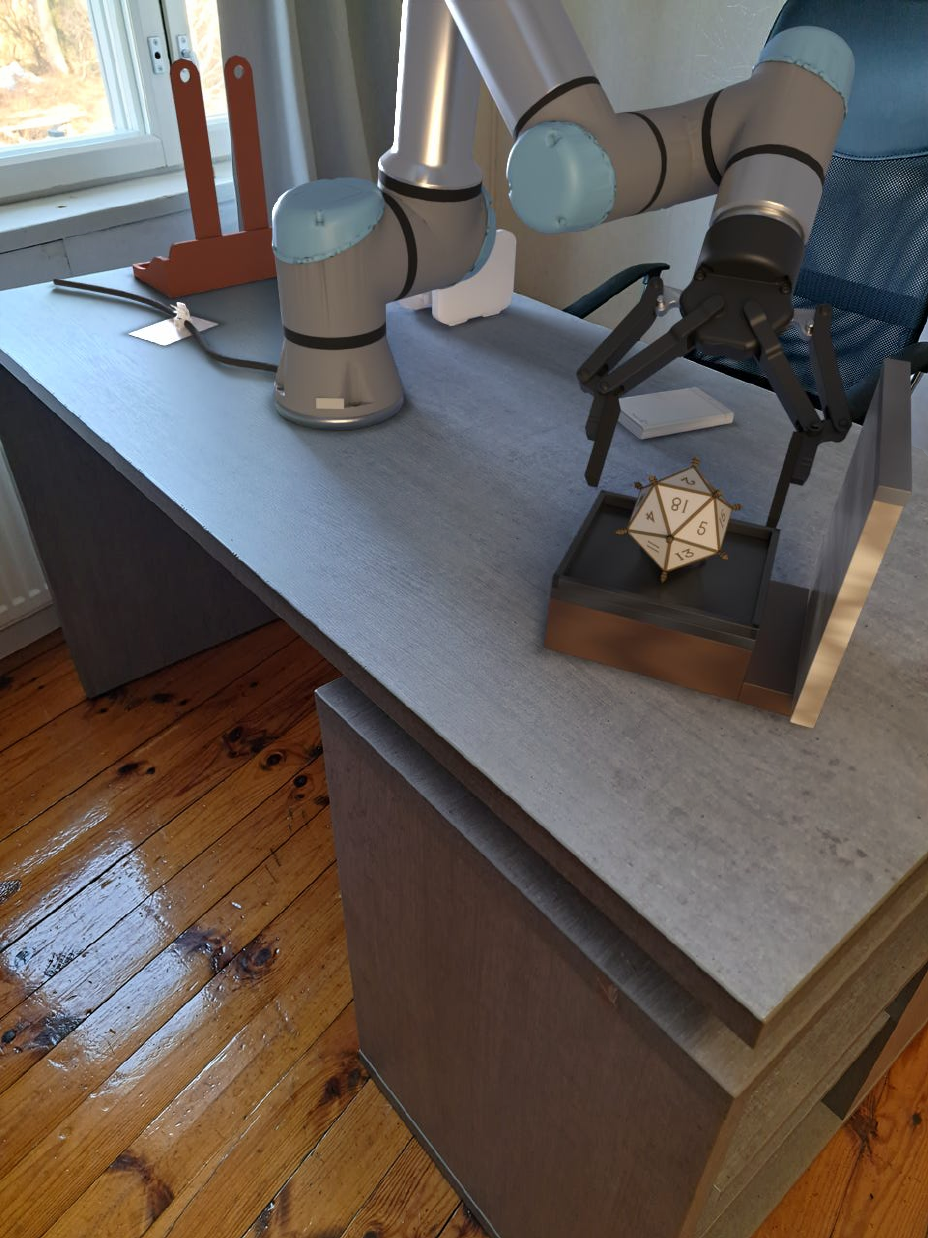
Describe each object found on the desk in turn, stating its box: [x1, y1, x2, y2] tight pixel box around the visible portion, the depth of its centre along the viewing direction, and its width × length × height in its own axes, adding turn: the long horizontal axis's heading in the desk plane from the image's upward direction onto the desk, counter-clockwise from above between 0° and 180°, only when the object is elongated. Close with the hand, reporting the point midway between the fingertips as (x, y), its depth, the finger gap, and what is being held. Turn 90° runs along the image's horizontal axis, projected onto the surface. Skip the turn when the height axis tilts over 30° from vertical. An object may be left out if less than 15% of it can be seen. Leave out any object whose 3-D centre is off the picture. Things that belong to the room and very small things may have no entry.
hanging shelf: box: [131, 54, 277, 299], centre depth 130 cm, size 24×13×30 cm, turn 130°
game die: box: [616, 455, 744, 583], centre depth 65 cm, size 9×8×10 cm
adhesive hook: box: [170, 301, 193, 331], centre depth 119 cm, size 3×3×3 cm
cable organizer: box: [394, 229, 517, 327], centre depth 125 cm, size 15×11×12 cm
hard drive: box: [617, 386, 735, 440], centre depth 101 cm, size 2×8×12 cm
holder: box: [543, 357, 913, 729], centre depth 64 cm, size 20×20×21 cm
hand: (678, 502), depth 64 cm, fingers open, 13 cm apart
